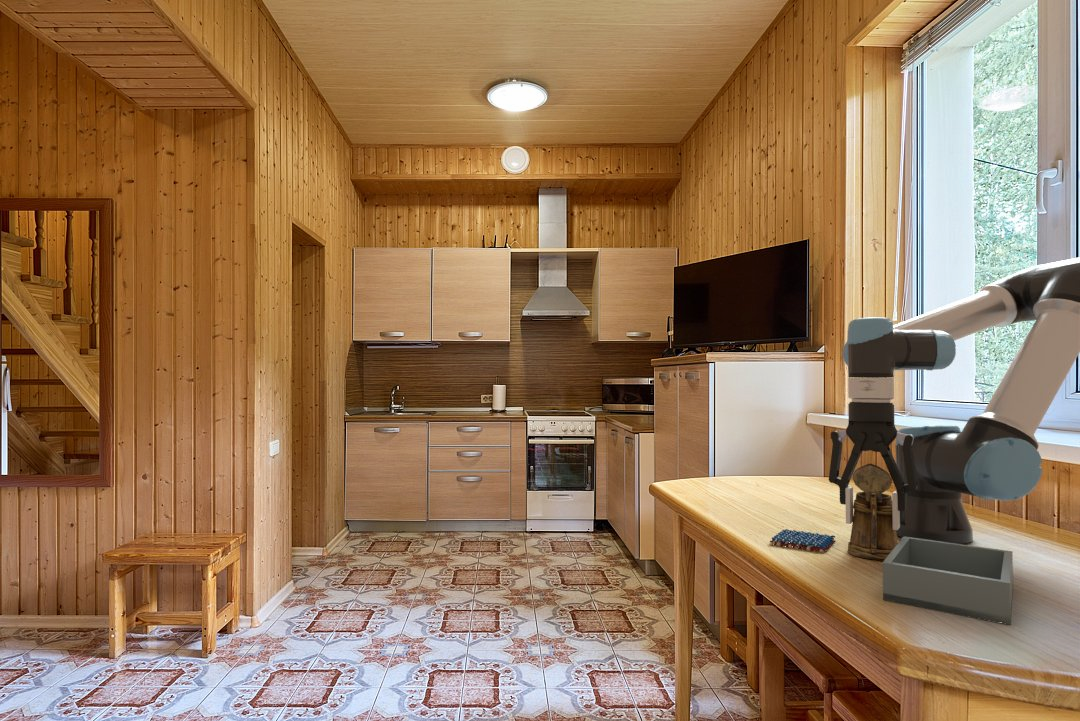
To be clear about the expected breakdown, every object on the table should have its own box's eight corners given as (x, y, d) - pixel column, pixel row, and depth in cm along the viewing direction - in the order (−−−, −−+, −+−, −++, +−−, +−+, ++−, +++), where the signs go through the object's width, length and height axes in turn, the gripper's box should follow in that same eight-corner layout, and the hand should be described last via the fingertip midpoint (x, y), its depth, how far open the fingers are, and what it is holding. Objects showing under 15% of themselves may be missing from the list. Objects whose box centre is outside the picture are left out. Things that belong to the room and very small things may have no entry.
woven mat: (781, 537, 130) (781, 527, 130) (836, 544, 124) (836, 534, 124) (767, 547, 122) (767, 537, 122) (825, 556, 115) (825, 545, 115)
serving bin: (904, 568, 107) (903, 536, 107) (1013, 586, 97) (1012, 551, 97) (883, 599, 91) (882, 562, 91) (1010, 625, 82) (1009, 583, 82)
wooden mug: (843, 562, 110) (841, 461, 110) (849, 545, 121) (848, 454, 122) (900, 571, 105) (899, 465, 106) (901, 552, 117) (900, 457, 117)
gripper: (808, 400, 117) (809, 521, 117) (931, 402, 105) (933, 538, 104) (819, 399, 123) (820, 514, 122) (936, 401, 111) (938, 529, 110)
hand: (872, 525), depth 113 cm, fingers closed on wooden mug, 7 cm apart
